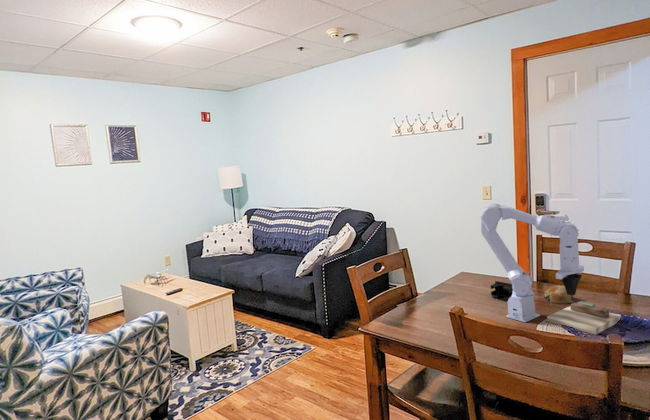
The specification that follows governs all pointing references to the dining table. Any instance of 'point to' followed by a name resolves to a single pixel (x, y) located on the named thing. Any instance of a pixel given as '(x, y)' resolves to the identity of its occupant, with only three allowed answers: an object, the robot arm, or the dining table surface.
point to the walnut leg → (590, 310)
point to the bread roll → (558, 295)
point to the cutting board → (583, 319)
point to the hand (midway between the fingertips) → (571, 294)
